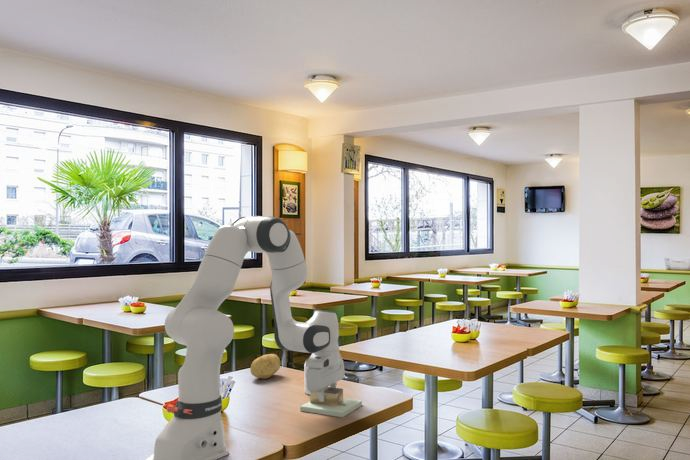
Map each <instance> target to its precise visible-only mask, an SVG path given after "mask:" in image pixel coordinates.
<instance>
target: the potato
mask: <svg viewBox="0 0 690 460" xmlns="http://www.w3.org/2000/svg"><path fill="white" fill-rule="evenodd" d="M280 368H281V359H280V357H279V356H278V354H275V353H269V354H268V353H267V354H263V355H261V356H259V357H257V358H255V359H254V360H253V361H252V363H251V365H250V369H249V370H250V373H251V375H252V376H253V377H254V378H258V379H269V378H271V377H272V376H274V375H275V374H276V373H277V372H278V371H279V370H280Z"/></svg>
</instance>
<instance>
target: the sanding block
mask: <svg viewBox="0 0 690 460" xmlns="http://www.w3.org/2000/svg"><path fill="white" fill-rule="evenodd" d="M324 395H326V400H325V401H323V402H321V401H319V395H318V393H317V392H311V391H310V395H309V399H310V400H309V401H310V403H317V404H324V405H331V406H338V405H339V404H341V403H343V398H344V389H343V388H339V387H336V388H333V387H330V386H328V387H326V388H324Z"/></svg>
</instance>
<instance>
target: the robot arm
mask: <svg viewBox="0 0 690 460" xmlns="http://www.w3.org/2000/svg"><path fill="white" fill-rule="evenodd" d="M248 252H251V253H252V252H253V253H257V254H258V253H259V254H260V253H261V254H262V253H265V254H266V256H267V257H268V263H269V266H270V269H271V277H272V280H271V281H270V285H269V289H270V290H269V291H270V293H269V294H270V300H271V307H272V315H273V321H274V329H273V330H274V334H273V336H274V341H275V342H274V343H275V344H276V346H277V347H278V348H279V349H280V350H282V351H289V352H290V351H292V352H300V353H307V354H311V355H310V356H309V357H308V358H307V359H308V360H307V359H306V360H307V361H306V367H309V368H308V369H307V373H306V378H307V389H308V390H309V391H311V392H317V393H318V395H319V401H321V402H323V401H325V400H326V395H324V388H326V387H333V388H337V385H338V383H337V382H339V381H341V380H343V379H344V378H345V373H346V372H345V371H346V370H345V363H344V360H343V358H342V355H341V353H340V345H339V335H340V334H339V333H340V331H339V330H340V329H339V328H340V327H339V320H338V315H337V314H336V312H335V311H332V310H323V309H317V310H314V312H313V315H312V316H311V317H310V318H309V319H308V320H306V321H305V322H304V321H303V322H302V321H297V320H295V319H294V318H293V316H292V315H293V314H292V310H291V309H292V307H291V302H290V296H291V293H292V292H294V291H296V290H297V289H299V288H300V287H301V286H303V284H304V283H305V282H306V280H307V277H308V267H307V264H306V260H305V259H306V258H305V256H304V252H303V250H302V246H301V243H300V241H299V239H298V237H297V235H296V233H295V232H294V231H292V230H291V229H289V227H288V224H287V223H286V222H285V221H284V220H282V219H281V218H279V217H276V216H262V215H252V216H251V215H250V216H241V217H238V218H237V219H235V220H234V221H232V222H231V223H230V224H224V225H221V226H220V227H218V228H217V230H216V231H215V232H214V234H213V236H212V238H211V239H210V241H209V243H208V245H207V247H206V249H205V251H204V254H203V257H202V259H201V262H200V264H199V267H198V270H197V272H196V275H195V277H194V279H193V282H192V283H191V285H190V287H189V288H188V290H187V291H186V293H185V294H184V296H183V297H182V299H181V301H179V303H178V304H177V305H176V307H175V308H173V309H172V310H171V311H170V312H169V313H168V314H167V315H166V318H165V321H164V330H165V332H166V334H167V336H168V337H169V338H170V339H171V340H173V341H174V342H175V343H177V344H179V345H183V346H186V353H185V358H184V361H183V364H182V366H181V367H180V368H179V370H178V373H177V378H178V382H177V383H178V384H177V385H178V399H177V400H176V403H175V405H172V404H168V405H167V407H166V412H167V413H170V414H171V413H172V414H173V417H172V418H171V419H170V420H169V422H167V424H166V425H165V427H164V428H163V429H162V430H161V432H160V433H159V434H158V435H157V437H156V438H155V441H154V447H153V448H154V449H153V453H152V454H151V455H150V456H148V457H146V458H145V459H144V460H218V459H220V458H223V457H225V456H227V455H229V448H228V444H227V441H226V435H225V426H224V425H225V424H224V421H223V418H222V413H221V412H222V409H223V400H222V395H221V379H220V378H221V364H222V361H223V356H224V352H225V350H226V347H228V346H229V345H230V343H231V342H232V340H233V337H234V334H235V327H234V324H233V323H234V322H233V321H232V319H231V318H230V317H229V316H227V315H226V314H225V313H223V312H221V311H219V307H220V306H221V304H223V302H224V301H225V300H226V299H227V298H229V297H230V296H231V295H232V293H233V291H234V288H235V285H236V283H237V281H238V277H239V275H240V273H241V269H242V267H243V263H244V261H245V256H246V255H247V253H248Z"/></svg>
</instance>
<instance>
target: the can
mask: <svg viewBox="0 0 690 460" xmlns="http://www.w3.org/2000/svg"><path fill="white" fill-rule="evenodd" d="M308 359H309V358H307V359H305V362H304V365H303V367H304V369H303V372H304V373H303V376H304V379H303V380H304V393H305V394H306V395H308V396H310V391H309V390H308V389H307V378H306V373H307V369H308V368H309V367H306V361H307V360H308Z"/></svg>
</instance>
